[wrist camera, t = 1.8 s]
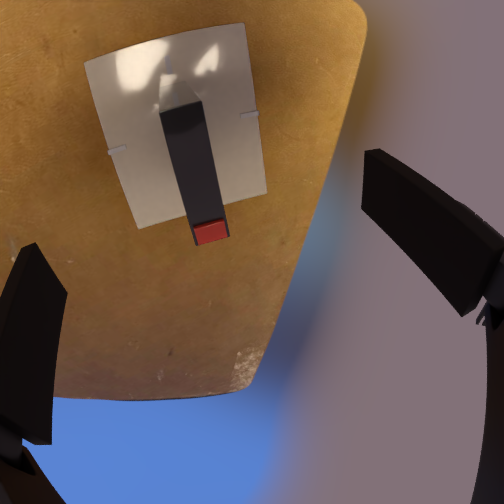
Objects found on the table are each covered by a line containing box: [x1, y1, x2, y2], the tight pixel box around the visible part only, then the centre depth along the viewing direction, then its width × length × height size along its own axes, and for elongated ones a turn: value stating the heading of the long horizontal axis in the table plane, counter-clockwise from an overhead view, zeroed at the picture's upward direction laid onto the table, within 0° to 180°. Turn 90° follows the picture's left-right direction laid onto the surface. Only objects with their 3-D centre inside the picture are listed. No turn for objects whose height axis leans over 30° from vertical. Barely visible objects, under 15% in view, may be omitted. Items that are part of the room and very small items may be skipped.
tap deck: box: [84, 22, 267, 229], centre depth 21 cm, size 14×11×3 cm
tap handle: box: [159, 81, 230, 246], centre depth 17 cm, size 7×2×9 cm, turn 8°
